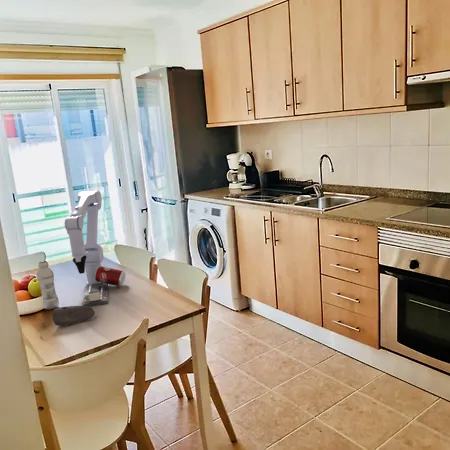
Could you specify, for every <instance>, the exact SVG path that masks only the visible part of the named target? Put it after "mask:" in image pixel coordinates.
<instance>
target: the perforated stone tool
mask: <svg viewBox="0 0 450 450" xmlns="http://www.w3.org/2000/svg"><path fill="white" fill-rule="evenodd" d="M95 314H96V312H95V310H94V308H92V307H88V306H83V305H69V306H62V307H56V308H54V309H53V311H52V313H51V316H52V322H53V324H54V325H55V326H56V327H60V326H61V327H65V326H71V325H75V324H79V323H80V324H81V323H83V322H88V321H90V320H91V319H93V317H95Z"/></svg>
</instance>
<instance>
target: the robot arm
mask: <svg viewBox="0 0 450 450" xmlns="http://www.w3.org/2000/svg"><path fill="white" fill-rule="evenodd" d="M77 201H78V204H77V206H75V207H74V208H73V209H72V210H71V211H72V212H71V213H70V215H69V216H68V217H66V218H65V220H64V228H65V230H66V233H67V235H68V238H69V244H70V249H71V257H72V262H73V263H74V264H75V267H76V269H77V271H78V274H81V275H82V274H85V275H86V285H85V286H89V285H90V284H91V285H95V284H101V282H97V281H96V280H95V273H96V270H97V268H98V267H100V266H102V264H101V263H102V262H103V261H104V251H103V249H104V248H103V247H102V246H101V245H100V244H98V222H99V221H98V219H99V218H98V215H99V210H101V209H102V194H101V192H100V190H99V189H97V190H87V191H79V192H78V193H77ZM86 214H87V215H86ZM85 217H87V218H86V220H87V221H86V241H85V240H84V233H83V228H84V219H85Z"/></svg>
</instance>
